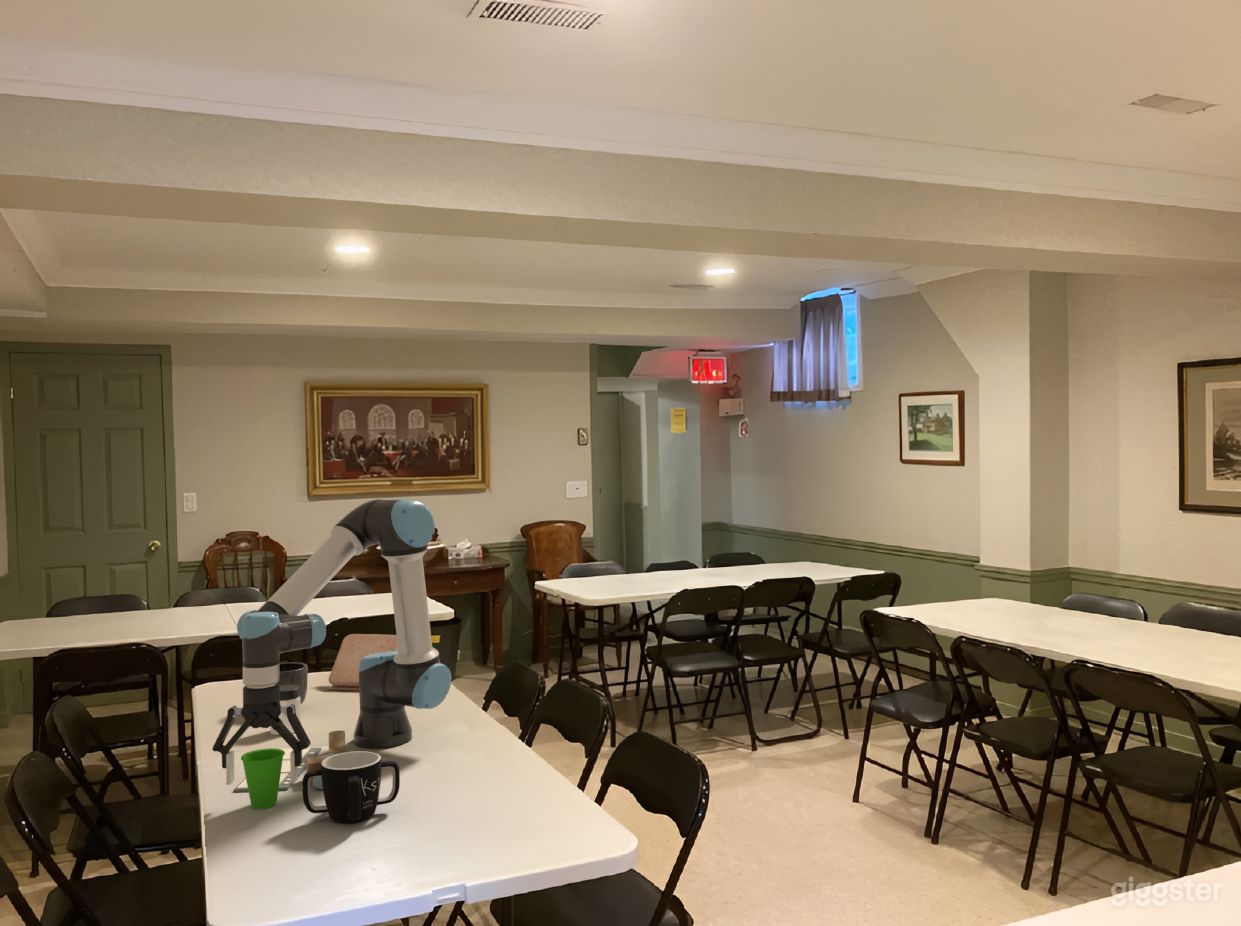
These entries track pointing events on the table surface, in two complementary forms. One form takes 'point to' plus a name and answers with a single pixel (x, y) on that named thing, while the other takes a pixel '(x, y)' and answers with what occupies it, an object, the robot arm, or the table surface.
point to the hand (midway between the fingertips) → (262, 781)
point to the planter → (294, 676)
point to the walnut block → (314, 764)
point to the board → (286, 769)
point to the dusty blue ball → (317, 782)
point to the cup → (263, 776)
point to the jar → (288, 697)
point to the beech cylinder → (336, 742)
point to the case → (357, 658)
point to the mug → (351, 786)
